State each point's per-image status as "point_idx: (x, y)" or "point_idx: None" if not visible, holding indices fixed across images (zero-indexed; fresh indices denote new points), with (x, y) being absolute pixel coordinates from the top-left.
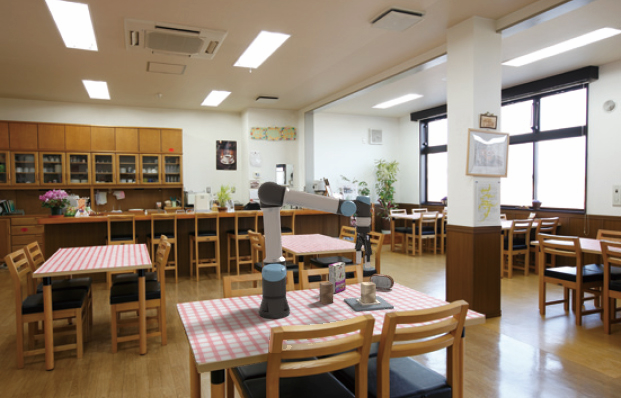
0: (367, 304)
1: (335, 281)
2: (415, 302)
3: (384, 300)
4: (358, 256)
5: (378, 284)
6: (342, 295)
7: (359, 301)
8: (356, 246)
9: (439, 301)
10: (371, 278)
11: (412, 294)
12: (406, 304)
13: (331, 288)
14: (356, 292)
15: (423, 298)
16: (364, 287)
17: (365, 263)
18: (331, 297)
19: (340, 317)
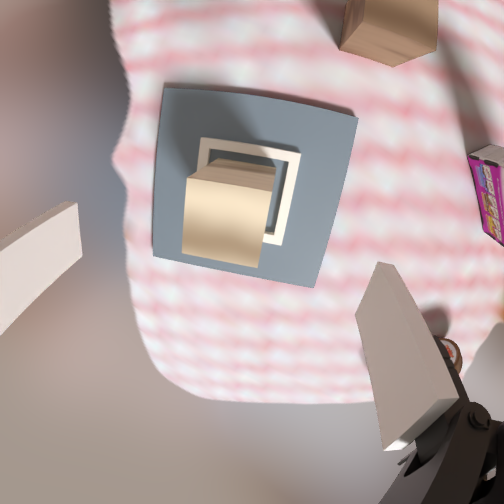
0: (198, 163)
1: (502, 168)
2: (201, 349)
3: (240, 271)
4: (393, 350)
5: None
6: (432, 164)
7: (249, 146)
8: (496, 480)
9: (191, 393)
10: (454, 356)
11: (288, 389)
12: (188, 316)
13: (357, 19)
14: (434, 249)
15: (233, 386)
16: (196, 174)
17: (28, 223)
18: (345, 34)
19: (128, 12)
